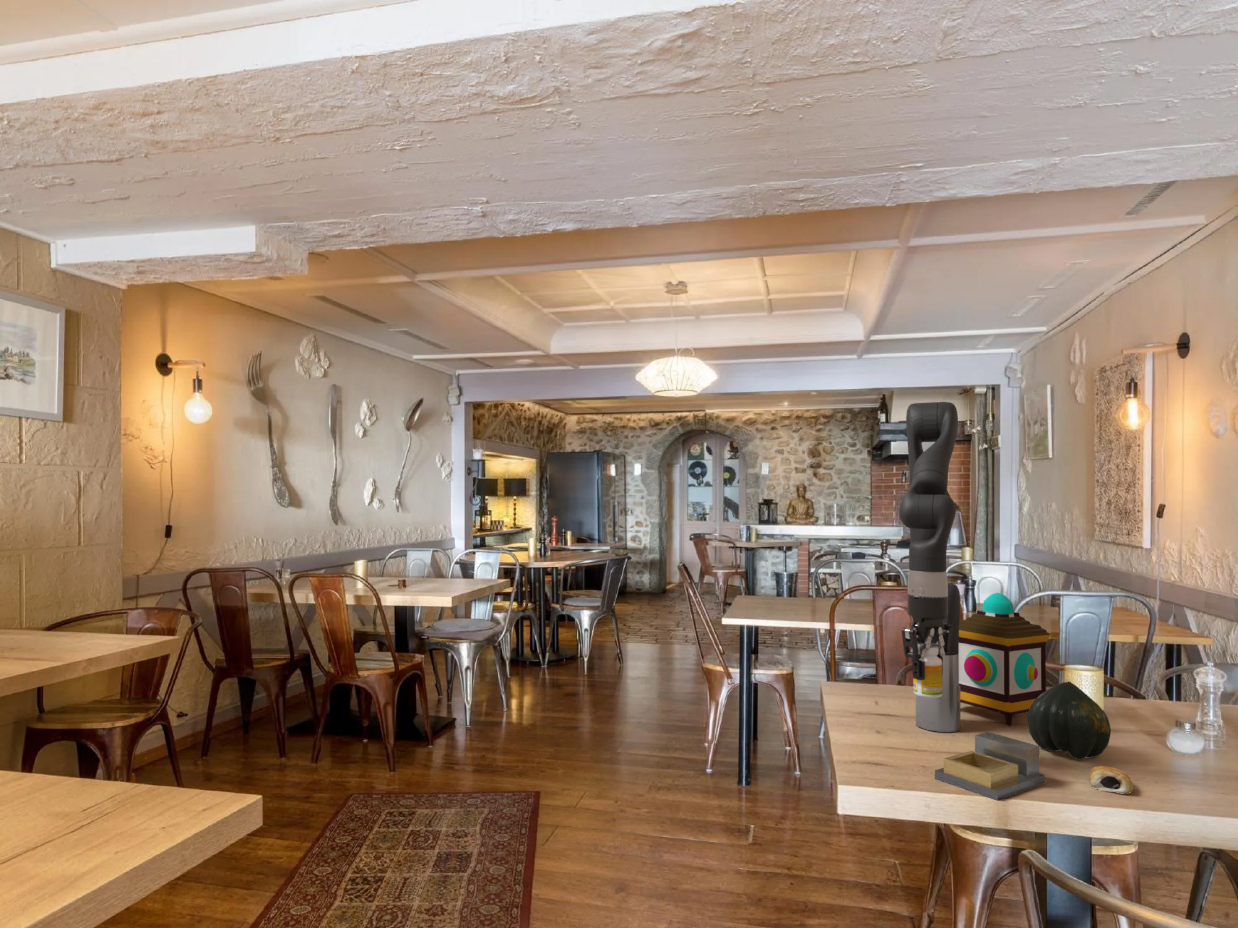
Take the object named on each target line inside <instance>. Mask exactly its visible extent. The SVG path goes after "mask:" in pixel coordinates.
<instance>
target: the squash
mask: <svg viewBox="0 0 1238 928" xmlns="http://www.w3.org/2000/svg"><path fill="white" fill-rule="evenodd" d="M1026 718H1027V719H1026V720H1027V728H1028V730H1029V731H1028V732H1029V735H1030V736H1031V738H1032V740H1033V741H1034V742H1035V743H1036V744H1035V745H1038V746H1039V747H1040V748H1041V749H1043V750H1045V751H1049V752H1058V751H1060V752H1062V753H1067V752H1068V754H1069V756H1071V757H1072V758H1073V759H1076V760H1082V759H1083V760H1084V759H1086V758H1088V759H1089V758H1095V757H1099V756H1100V755H1101V754H1103V752H1104V751H1105V750H1106V749H1107V746H1108V744H1109V742H1110V739H1111V730H1112V729H1111V723H1110V720H1109V717H1108V716H1107V714H1106V712H1104V710H1103V709H1102V707H1101V706H1100V705H1099V704H1098V703H1097V702H1096V701H1094V700H1093V699H1092V698H1091V697H1090V696H1089V695H1088V694H1086V692H1084V691H1083V690H1082V689H1080V687H1079V686H1078V685H1076V684H1074V683H1072V681H1069V680H1068V681H1066V682H1061V683H1058V684H1056V685H1054V686H1052V687H1050V688H1049V689H1046V691H1045V692H1044V693H1042V694H1041V695H1040V696H1039V697H1037V698H1036V699H1035V700H1034V702H1033V703H1032V705H1031V707H1030V709H1029V711H1028V712H1027V717H1026Z"/></svg>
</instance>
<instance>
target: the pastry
mask: <svg viewBox="0 0 1238 928" xmlns="http://www.w3.org/2000/svg"><path fill="white" fill-rule="evenodd" d="M1088 775H1089V779H1090V780H1089V784H1090V786H1091V788H1092V787H1094V788H1100V789H1101V790H1108V791H1113V792H1119V793H1129V792H1132V793H1133V791H1134V788H1135V787H1134V784H1133V781H1132V779H1131V777H1130V776H1129V775H1128V773H1126V772H1124V771H1122V770H1120V769H1119V768H1116V767H1112V766H1107V765H1100V766H1094V767H1093V768H1092V769H1091V770H1090V771H1089V773H1088Z"/></svg>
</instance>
